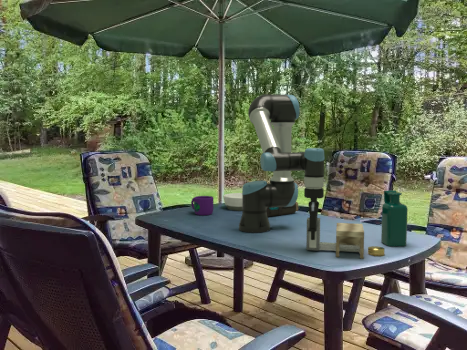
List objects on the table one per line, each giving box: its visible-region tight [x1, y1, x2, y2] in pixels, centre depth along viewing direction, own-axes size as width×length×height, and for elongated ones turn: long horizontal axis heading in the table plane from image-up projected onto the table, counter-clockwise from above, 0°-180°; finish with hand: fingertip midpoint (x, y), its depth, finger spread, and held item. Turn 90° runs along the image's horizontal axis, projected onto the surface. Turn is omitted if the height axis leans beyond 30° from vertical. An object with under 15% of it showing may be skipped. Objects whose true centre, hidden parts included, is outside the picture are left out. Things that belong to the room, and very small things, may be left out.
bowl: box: [222, 192, 243, 212], centre depth 270 cm, size 22×22×8 cm
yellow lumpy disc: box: [367, 245, 385, 257], centre depth 167 cm, size 6×6×2 cm
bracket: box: [305, 217, 360, 255], centre depth 171 cm, size 22×7×12 cm, turn 76°
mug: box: [190, 195, 214, 216], centre depth 254 cm, size 17×11×10 cm, turn 43°
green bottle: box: [380, 189, 409, 248], centre depth 182 cm, size 10×8×22 cm
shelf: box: [335, 222, 365, 260], centre depth 169 cm, size 10×15×10 cm, turn 166°
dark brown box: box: [266, 201, 299, 218], centre depth 246 cm, size 11×7×30 cm
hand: (313, 245), depth 173 cm, fingers closed on bracket, 5 cm apart
